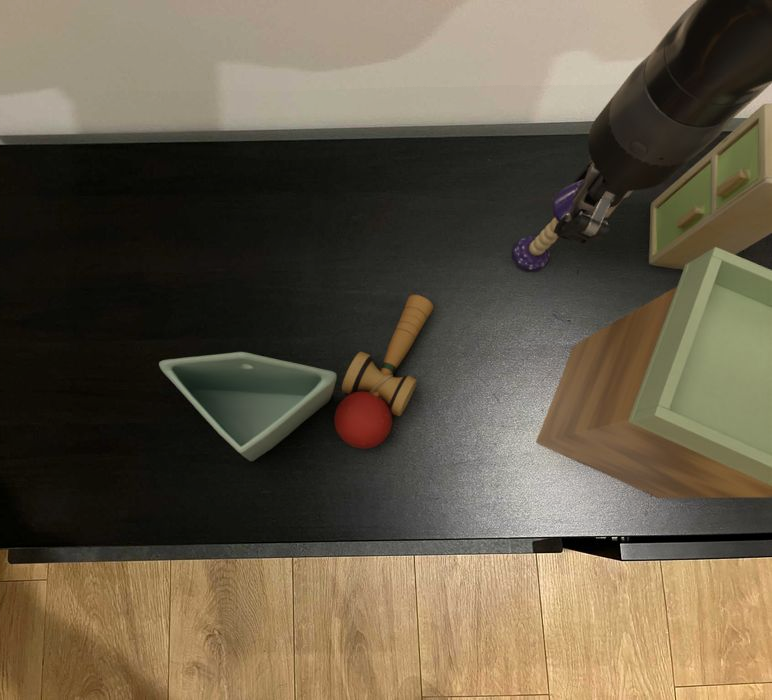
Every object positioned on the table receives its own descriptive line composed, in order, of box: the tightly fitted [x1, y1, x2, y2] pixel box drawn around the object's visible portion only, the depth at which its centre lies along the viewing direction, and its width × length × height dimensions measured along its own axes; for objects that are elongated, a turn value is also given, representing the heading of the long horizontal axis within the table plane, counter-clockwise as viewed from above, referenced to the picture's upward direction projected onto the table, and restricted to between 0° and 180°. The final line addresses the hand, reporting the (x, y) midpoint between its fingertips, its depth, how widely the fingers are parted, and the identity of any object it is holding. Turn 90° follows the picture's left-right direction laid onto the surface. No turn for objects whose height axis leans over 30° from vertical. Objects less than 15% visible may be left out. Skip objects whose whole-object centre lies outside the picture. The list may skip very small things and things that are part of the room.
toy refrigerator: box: [648, 103, 772, 271], centre depth 70 cm, size 8×7×21 cm
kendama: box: [334, 294, 434, 450], centre depth 74 cm, size 8×6×18 cm
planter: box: [158, 351, 338, 462], centre depth 66 cm, size 16×8×20 cm, turn 86°
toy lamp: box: [511, 179, 589, 273], centre depth 72 cm, size 5×5×17 cm
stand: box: [535, 286, 772, 499], centre depth 64 cm, size 14×12×24 cm
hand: (573, 210), depth 68 cm, fingers closed on toy lamp, 4 cm apart
